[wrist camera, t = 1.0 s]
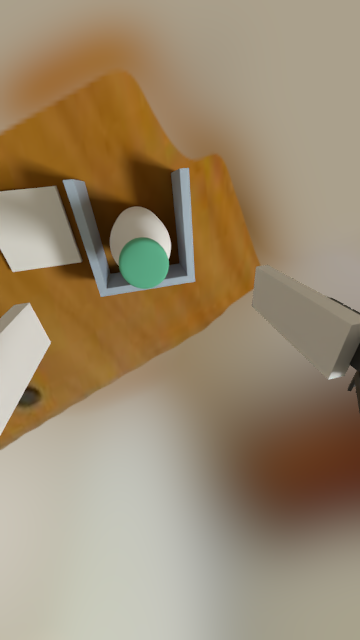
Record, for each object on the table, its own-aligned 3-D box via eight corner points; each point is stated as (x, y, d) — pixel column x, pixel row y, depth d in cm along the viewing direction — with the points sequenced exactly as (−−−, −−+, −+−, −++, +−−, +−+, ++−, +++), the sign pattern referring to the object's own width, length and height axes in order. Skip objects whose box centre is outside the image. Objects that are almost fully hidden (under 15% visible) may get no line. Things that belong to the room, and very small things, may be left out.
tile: (15, 270, 35) (12, 271, 34) (-26, 194, 29) (-30, 194, 28) (82, 260, 36) (81, 262, 35) (56, 186, 30) (54, 185, 30)
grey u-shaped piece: (105, 280, 39) (101, 296, 33) (75, 182, 30) (62, 180, 25) (185, 268, 40) (195, 281, 35) (178, 172, 32) (188, 167, 26)
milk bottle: (108, 212, 33) (83, 232, 16) (154, 200, 34) (177, 209, 17) (124, 259, 37) (118, 313, 21) (165, 248, 38) (192, 293, 21)
